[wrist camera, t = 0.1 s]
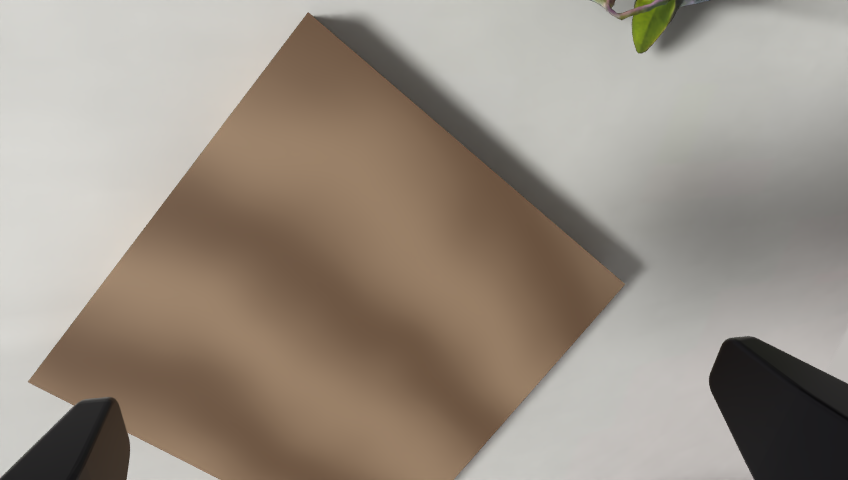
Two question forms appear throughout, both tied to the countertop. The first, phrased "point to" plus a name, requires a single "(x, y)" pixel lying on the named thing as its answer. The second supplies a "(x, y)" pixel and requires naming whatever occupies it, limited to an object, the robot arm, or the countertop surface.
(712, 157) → the countertop surface
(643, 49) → the passion flower
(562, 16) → the countertop surface
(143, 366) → the cutting board
